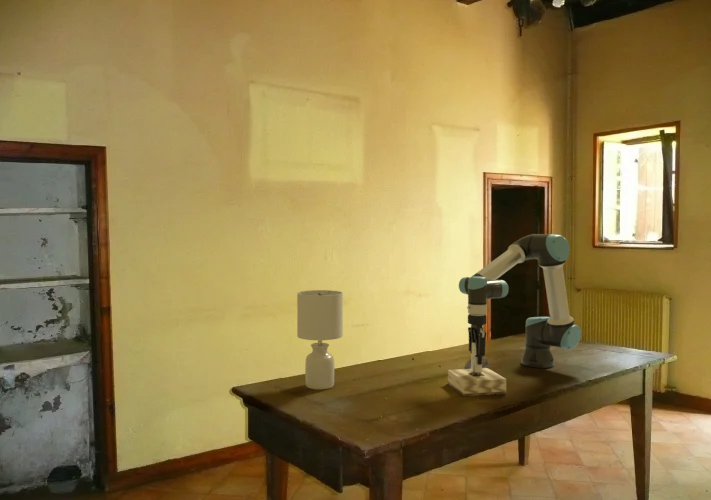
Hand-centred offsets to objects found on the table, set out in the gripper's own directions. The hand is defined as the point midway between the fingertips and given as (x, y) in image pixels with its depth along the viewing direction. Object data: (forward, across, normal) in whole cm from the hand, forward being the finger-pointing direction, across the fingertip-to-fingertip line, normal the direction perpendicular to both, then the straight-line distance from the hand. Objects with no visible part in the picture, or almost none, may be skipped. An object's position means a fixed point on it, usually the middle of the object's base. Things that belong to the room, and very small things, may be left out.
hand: (476, 370), depth 237 cm
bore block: (+7, 0, 0) cm, 7 cm away
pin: (+4, 0, 0) cm, 4 cm away
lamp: (+8, -15, -63) cm, 65 cm away
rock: (+8, -21, +9) cm, 24 cm away
